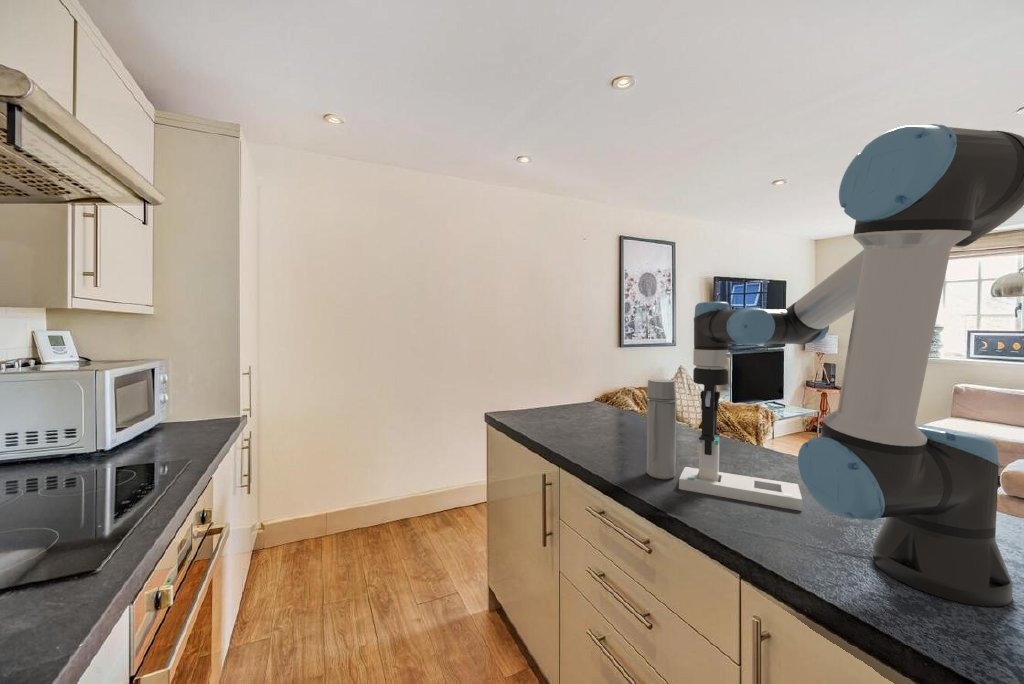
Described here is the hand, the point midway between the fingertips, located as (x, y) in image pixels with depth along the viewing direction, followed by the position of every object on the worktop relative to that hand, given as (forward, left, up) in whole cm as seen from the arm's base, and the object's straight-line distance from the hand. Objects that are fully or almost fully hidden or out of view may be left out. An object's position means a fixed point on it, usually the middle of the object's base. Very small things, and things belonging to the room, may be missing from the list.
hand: (709, 464), depth 100 cm
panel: (0, -6, -6) cm, 9 cm away
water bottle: (+3, +12, -6) cm, 14 cm away
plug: (0, 0, -4) cm, 4 cm away
